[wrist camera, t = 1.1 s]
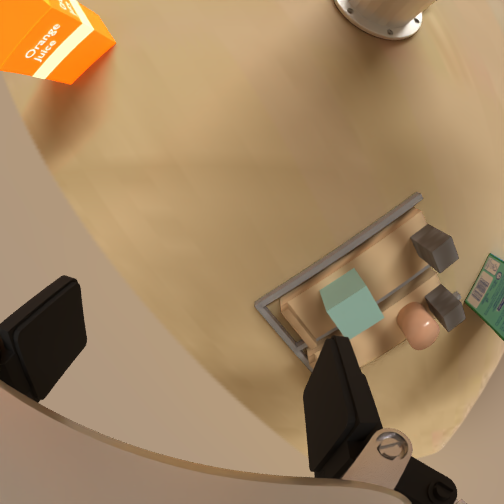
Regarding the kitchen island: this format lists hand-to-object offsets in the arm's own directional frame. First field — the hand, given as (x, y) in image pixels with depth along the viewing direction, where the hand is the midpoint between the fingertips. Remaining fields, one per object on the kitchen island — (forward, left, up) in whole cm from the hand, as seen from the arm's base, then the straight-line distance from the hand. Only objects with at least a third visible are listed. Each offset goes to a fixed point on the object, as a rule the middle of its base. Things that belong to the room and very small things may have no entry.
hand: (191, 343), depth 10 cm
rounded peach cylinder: (-10, +24, -23) cm, 35 cm away
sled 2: (-6, +24, -26) cm, 36 cm away
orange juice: (+4, -33, -26) cm, 42 cm away
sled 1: (-7, +15, -26) cm, 31 cm away
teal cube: (-4, +15, -23) cm, 28 cm away
